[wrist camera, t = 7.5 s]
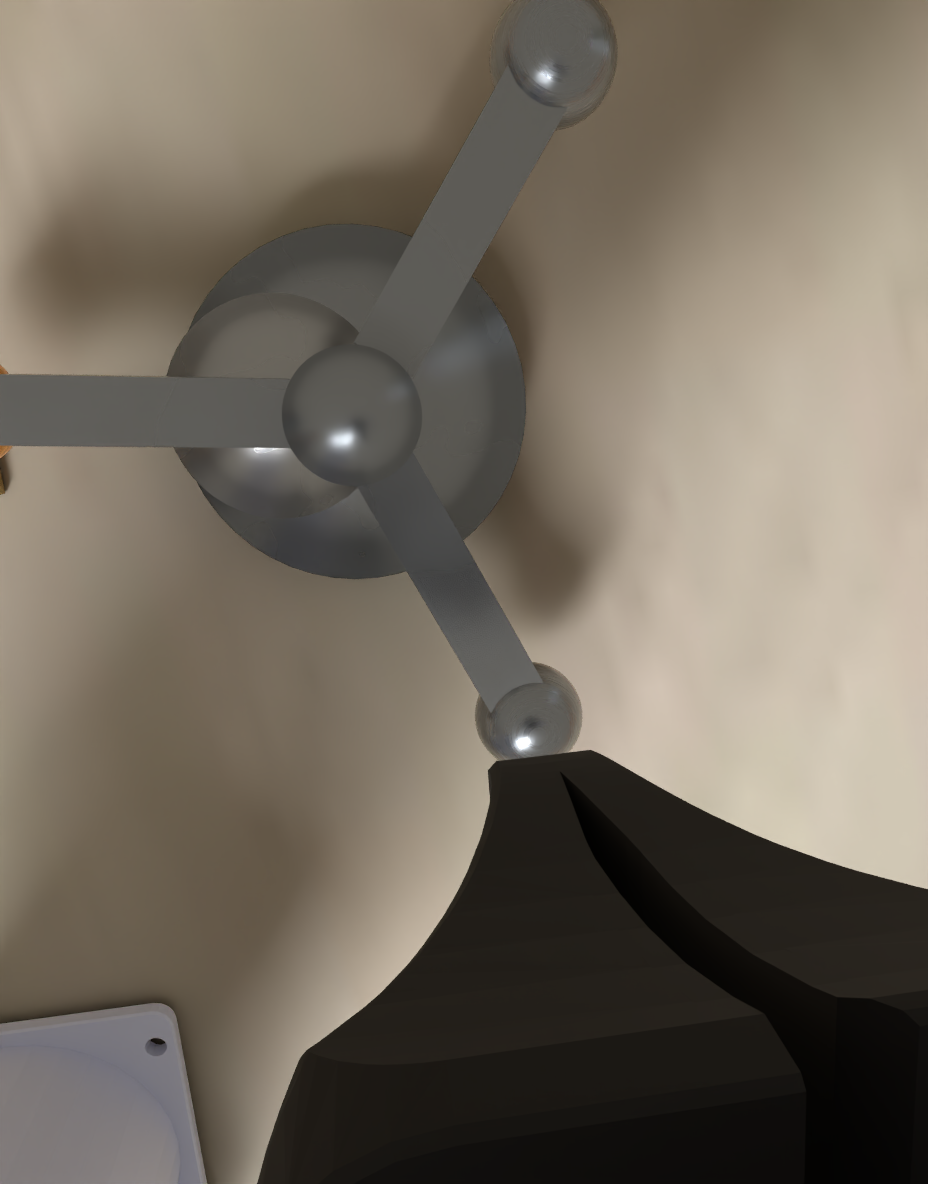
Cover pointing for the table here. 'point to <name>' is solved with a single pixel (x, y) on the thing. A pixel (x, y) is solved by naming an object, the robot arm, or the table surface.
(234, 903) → the table surface
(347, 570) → the cam capstan
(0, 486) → the stand
